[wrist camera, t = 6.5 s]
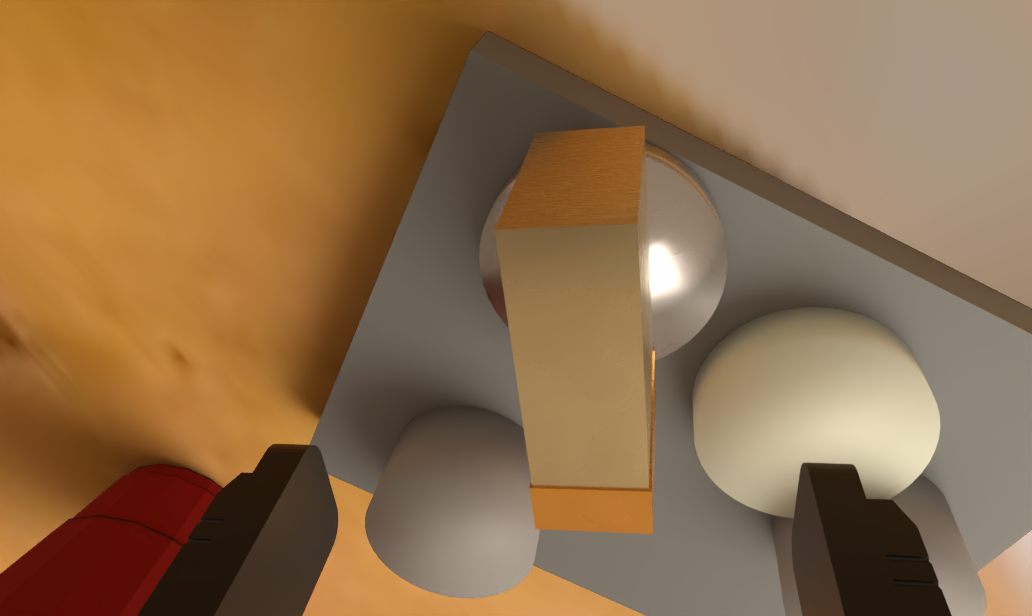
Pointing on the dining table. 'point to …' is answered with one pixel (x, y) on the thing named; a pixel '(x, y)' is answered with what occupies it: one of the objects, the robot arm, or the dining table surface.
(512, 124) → the base
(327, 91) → the dining table surface
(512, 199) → the wing knob
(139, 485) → the plastic cup
